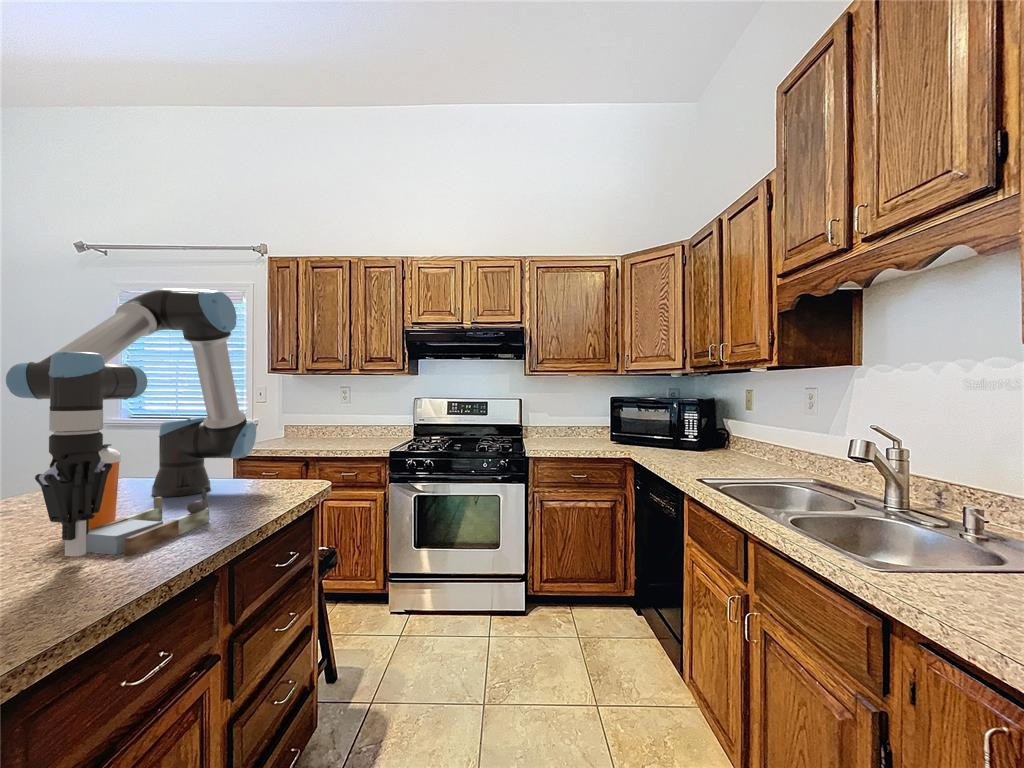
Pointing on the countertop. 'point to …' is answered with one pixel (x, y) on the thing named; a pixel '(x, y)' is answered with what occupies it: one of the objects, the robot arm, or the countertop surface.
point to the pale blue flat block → (116, 536)
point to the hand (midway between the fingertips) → (75, 554)
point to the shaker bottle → (108, 489)
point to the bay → (166, 530)
